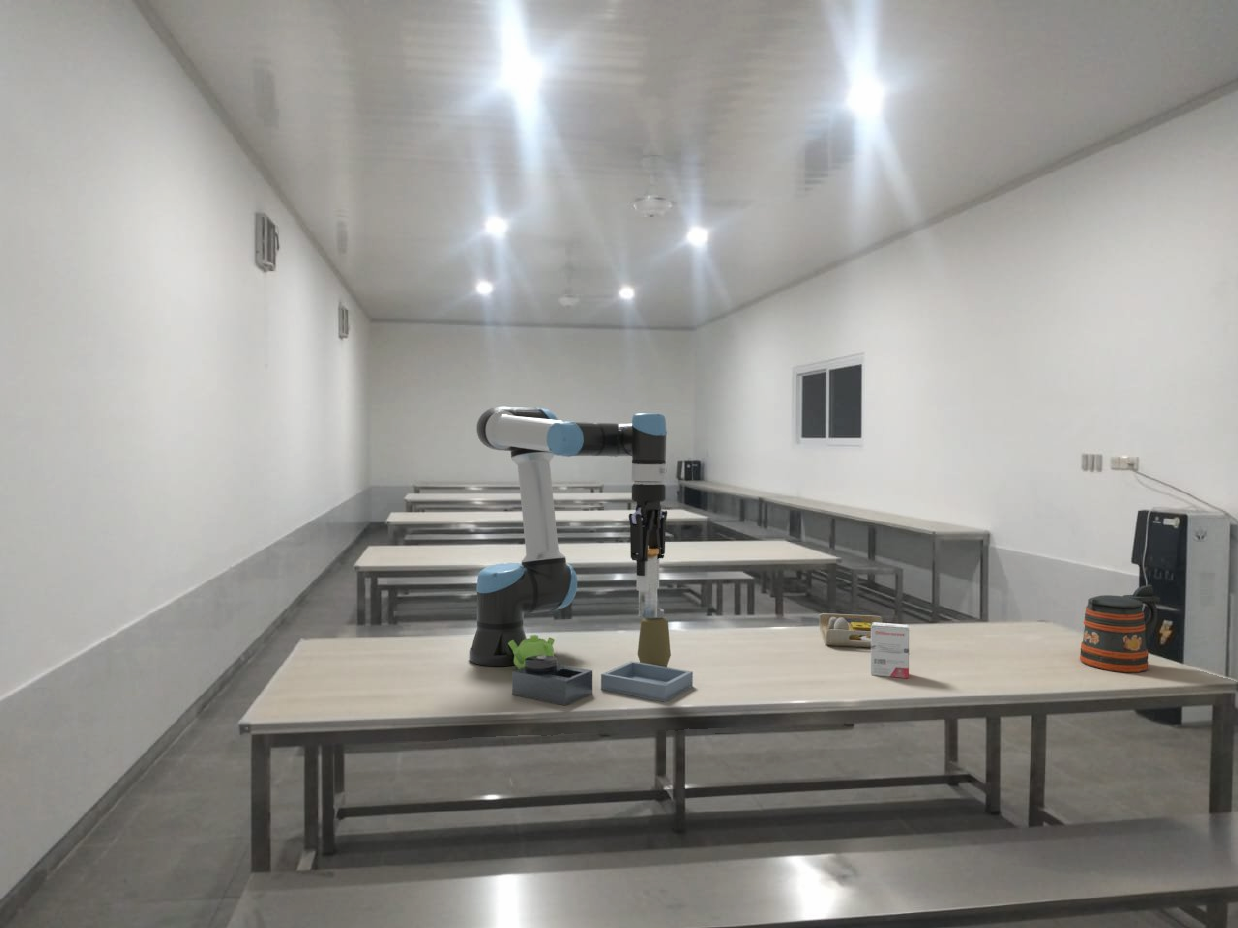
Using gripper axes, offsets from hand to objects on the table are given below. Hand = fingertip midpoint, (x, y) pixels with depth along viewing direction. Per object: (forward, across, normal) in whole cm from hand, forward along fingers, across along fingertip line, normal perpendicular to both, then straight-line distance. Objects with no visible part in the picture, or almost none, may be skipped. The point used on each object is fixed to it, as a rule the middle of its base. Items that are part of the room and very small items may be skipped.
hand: (647, 588), depth 176 cm
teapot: (+22, -3, +30) cm, 38 cm away
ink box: (+22, +41, -43) cm, 64 cm away
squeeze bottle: (+22, +14, +6) cm, 27 cm away
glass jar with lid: (+6, 0, 0) cm, 6 cm away
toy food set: (+23, +73, -26) cm, 81 cm away
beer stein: (+22, +82, -90) cm, 124 cm away
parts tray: (+22, 0, 0) cm, 22 cm away
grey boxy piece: (+22, -15, +15) cm, 31 cm away
